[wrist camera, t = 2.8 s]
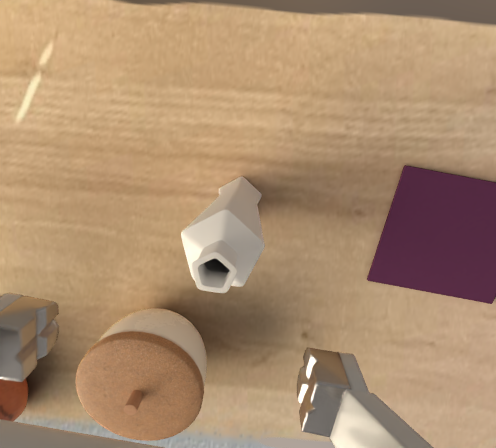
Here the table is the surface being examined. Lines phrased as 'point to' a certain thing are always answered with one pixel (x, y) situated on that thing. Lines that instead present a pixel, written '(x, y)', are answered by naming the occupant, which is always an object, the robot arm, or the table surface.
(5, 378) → the robot arm
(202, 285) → the white faceted vase
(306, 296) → the table surface
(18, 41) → the table surface
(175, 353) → the trinket box
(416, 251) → the cloth
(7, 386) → the potted flower
